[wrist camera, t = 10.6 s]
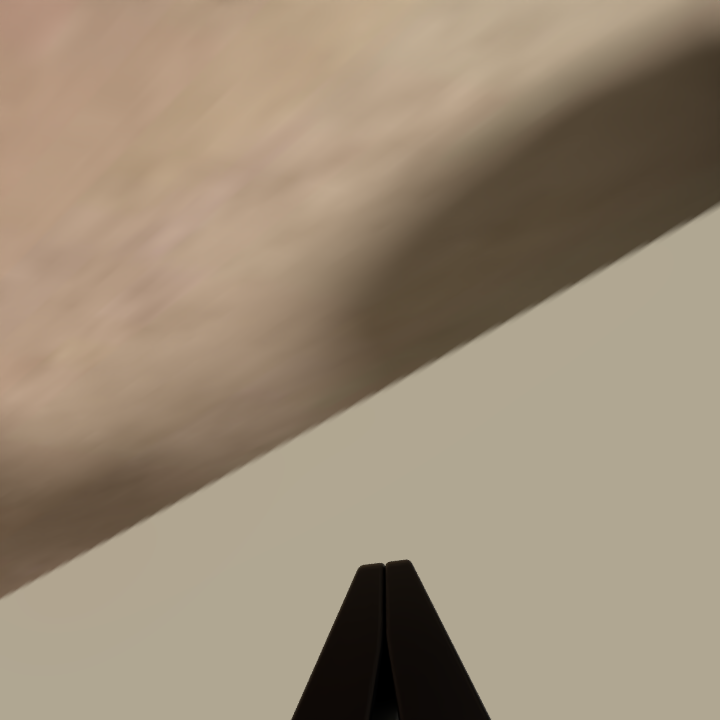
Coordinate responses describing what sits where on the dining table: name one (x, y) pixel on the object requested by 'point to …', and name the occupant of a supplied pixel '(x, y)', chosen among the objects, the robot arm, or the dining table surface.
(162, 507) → the dining table surface
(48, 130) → the dining table surface
